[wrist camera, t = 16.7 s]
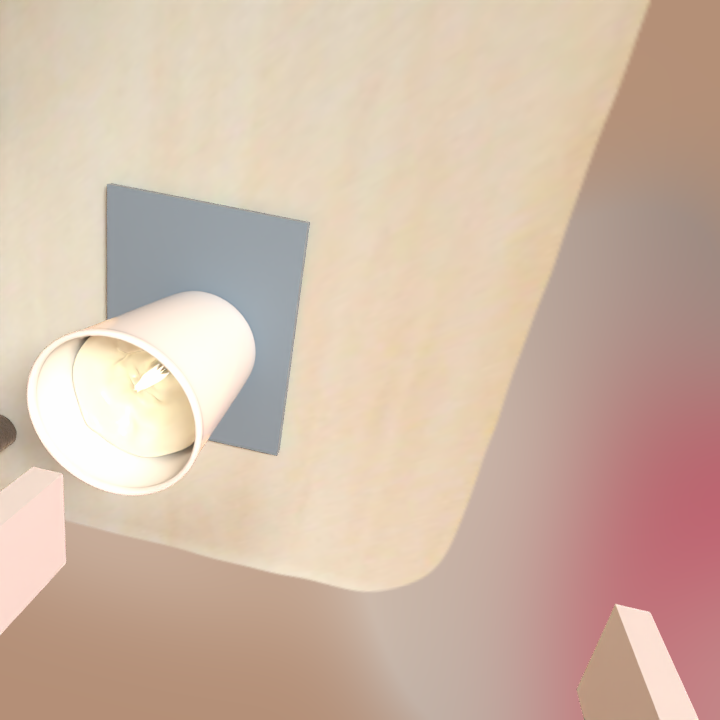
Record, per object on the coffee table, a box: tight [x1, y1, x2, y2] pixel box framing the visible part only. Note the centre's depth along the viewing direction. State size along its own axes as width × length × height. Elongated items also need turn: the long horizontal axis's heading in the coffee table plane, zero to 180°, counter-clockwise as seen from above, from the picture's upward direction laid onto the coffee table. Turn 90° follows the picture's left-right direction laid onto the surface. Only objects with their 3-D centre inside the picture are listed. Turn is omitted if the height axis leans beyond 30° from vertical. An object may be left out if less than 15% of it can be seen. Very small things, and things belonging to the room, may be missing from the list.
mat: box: [107, 184, 310, 456], centre depth 40 cm, size 18×14×1 cm
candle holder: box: [27, 291, 256, 496], centre depth 35 cm, size 10×10×12 cm
